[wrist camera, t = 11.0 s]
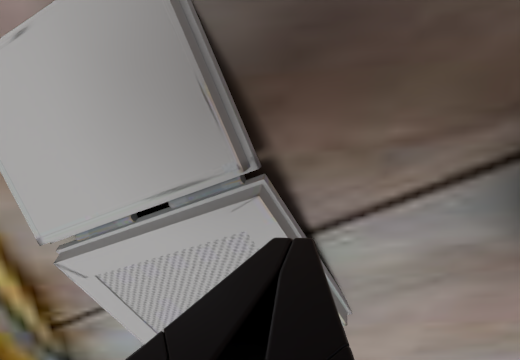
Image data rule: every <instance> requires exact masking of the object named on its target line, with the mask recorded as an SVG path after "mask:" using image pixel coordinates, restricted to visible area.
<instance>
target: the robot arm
mask: <svg viewBox="0 0 520 360" xmlns="http://www.w3.org/2000/svg"><path fill="white" fill-rule="evenodd" d="M125 360H354V357H353V354H352V351H351V348H350V347H349V343H348V340H347V337H346V334H345V331H344V328H343V325H342V322H341V319H340V316H339V313H338V310H337V307H336V305H335V302H334V299H333V296H332V293H331V290H330V287H329V284H328V281H327V278H326V275H325V272H324V269H323V266H322V263H321V260H320V257H319V254H318V251H317V248H316V245H315V242H314V240H313V239H312V238H295V239H294V240H293V239H292V238H273V239H271V240H270V241H269V242H268V243H267V244H265V245H264V246H263V247H262V248H261V249H259V250H258V251H257V252H256V253H255V254H253V255H252V256H251V257H250V258H248V259H247V260H246V261H245V262H244V263H242V264H241V265H240V266H239V267H238V268H236V269H235V270H234V271H233V272H232V273H230V274H229V275H228V276H227V277H226V278H224V279H223V280H222V281H221V282H220V283H218V284H217V285H216V286H215V287H213V288H212V289H211V290H210V291H209V292H207V293H206V294H205V295H204V296H203V297H201V298H200V299H199V300H198V301H197V302H195V303H194V304H193V305H192V306H191V307H189V308H188V309H187V310H186V311H185V312H183V313H182V314H181V315H180V316H178V317H177V318H176V319H175V320H174V321H172V322H171V323H170V324H169V325H168V326H166V327H165V328H164V332H163V331H160V332H159V333H158V334H157V335H155V336H154V337H153V338H152V339H150V340H149V341H148V342H147V343H146V344H144V345H143V346H142V347H141V348H139V349H138V350H137V351H136V352H134V353H133V354H132V355H130V356H129V357H128V358H127V359H125Z"/></svg>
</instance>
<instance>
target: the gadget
mask: <svg viewBox="0 0 520 360" xmlns="http://www.w3.org/2000/svg"><path fill="white" fill-rule="evenodd" d="M260 167H261V164H260V162H259V159H258V157H257V155H256V152H255V150H254V148H253V145H252V143H251V141H250V138H249V136H248V134H247V131H246V129H245V126H244V124H243V122H242V119H241V117H240V115H239V112H238V110H237V108H236V105H235V103H234V101H233V98H232V96H231V93H230V91H229V89H228V86H227V84H226V82H225V79H224V77H223V75H222V72H221V70H220V68H219V65H218V63H217V60H216V58H215V56H214V53H213V51H212V49H211V46H210V44H209V42H208V39H207V37H206V35H205V32H204V30H203V27H202V25H201V23H200V20H199V18H198V16H197V13H196V11H195V9H194V6H193V4H192V2H191V0H55V1H54V2H52V3H51V4H49V5H48V6H46V7H45V8H44V9H42V10H41V11H39V12H38V13H36V14H35V15H33V16H32V17H30V18H29V19H28V20H26V21H25V22H23V23H22V24H20V25H19V26H17V27H16V28H14V29H13V30H12V31H10V32H9V33H7V34H6V35H4V36H3V37H1V38H0V172H1V174H2V176H3V177H4V179H5V181H6V183H7V185H8V187H9V189H10V191H11V193H12V194H13V196H14V198H15V200H16V202H17V204H18V206H19V208H20V210H21V212H22V213H23V215H24V217H25V219H26V221H27V223H28V225H29V227H30V229H31V230H32V232H33V234H34V236H35V238H36V240H37V242H38V244H39V246H41V245H43V244H46V243H49V242H50V244H51V243H54V242H56V241H59V240H62V239H65V238H68V237H70V236H73V235H75V239H76V240H74V241H71V242H69V243H66V244H63V245H60V246H59V247H58V248H57V250H56V252H57V253H58V254H59V256H58V257H57V259H56V260H55V262H54V263H53V264H54V265H55V266H56V267H58V268H59V269H60V270H61V271H62V272H63V273H64V274H65V275H67V276H68V277H69V278H70V279H71V280H72V281H73V282H74V283H76V284H77V285H78V286H79V287H80V288H81V289H82V290H83V291H85V292H86V293H87V294H88V295H89V296H90V297H91V298H92V299H94V300H95V301H96V302H97V303H98V304H99V305H100V306H101V307H103V308H104V309H105V310H106V311H107V312H108V313H109V314H110V315H111V316H113V317H114V318H115V319H116V320H117V321H118V322H119V323H120V324H122V325H123V326H124V327H125V328H126V329H127V330H128V331H129V332H131V333H132V334H133V335H134V336H135V337H136V338H137V339H138V340H140V341H141V342H142V343H143V344H146V343H147V342H148V341H149V340H150V339H152V338H153V337H154V336H155V335H157V334H158V333H159V332H160V331H163V332H164V328H165V327H166V326H168V325H169V324H170V323H171V322H172V321H174V320H175V319H176V318H177V317H178V316H180V315H181V314H182V313H183V312H185V311H186V310H187V309H188V308H189V307H191V306H192V305H193V304H194V303H195V302H197V301H198V300H199V299H200V298H201V297H203V296H204V295H205V294H206V293H207V292H209V291H210V290H211V289H212V288H213V287H215V286H216V285H217V284H218V283H220V282H221V281H222V280H223V279H224V278H226V277H227V276H228V275H229V274H230V273H232V272H233V271H234V270H235V269H236V268H238V267H239V266H240V265H241V264H242V263H244V262H245V261H246V260H247V259H248V258H250V257H251V256H252V255H253V254H255V253H256V252H257V251H258V250H259V249H261V248H262V247H263V246H264V245H265V244H267V243H268V242H269V241H270V240H271V239H273V238H292V239H293V240H294V239H295V238H307V237H306V236H305V234H304V233H303V231H302V230H301V228H300V227H299V225H298V224H297V222H296V220H295V219H294V217H293V216H292V214H291V213H290V211H289V210H288V208H287V207H286V205H285V204H284V202H283V200H282V199H281V197H280V196H279V194H278V193H277V191H276V190H275V188H274V187H273V185H272V183H271V182H270V180H269V179H268V177H267V176H266V174H262V175H259V176H256V177H254V178H251V179H248V180H246V179H245V176H244V175H243V174H246V173H249V172H252V171H255V170H257V169H259V168H260ZM168 201H169V202H168ZM165 202H168V203H169V206H170V207H168V208H165V209H162V210H160V211H157V212H154V213H151V214H148V215H145V216H143V217H140V218H138V216H137V214H136V213H137V212H140V211H143V210H146V209H148V208H151V207H154V206H157V205H160V204H162V203H165ZM320 260H321V259H320ZM321 263H322V266H323V269H324V272H325V275H326V278H327V281H328V284H329V287H330V290H331V293H332V296H333V299H334V302H335V305H336V307H337V310H338V313H339V316H340V319H341V322H342V325H343V326H346V325H347V315H349V314H352V312H351V310H350V308H349V306H348V304H347V302H346V300H345V298H344V296H343V294H342V292H341V290H340V288H339V287H338V285H337V284H336V282H335V281H334V279H333V278H332V276H331V275H330V273H329V271H328V270H327V268H326V267H325V265H324V264H323V262H322V261H321Z"/></svg>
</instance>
